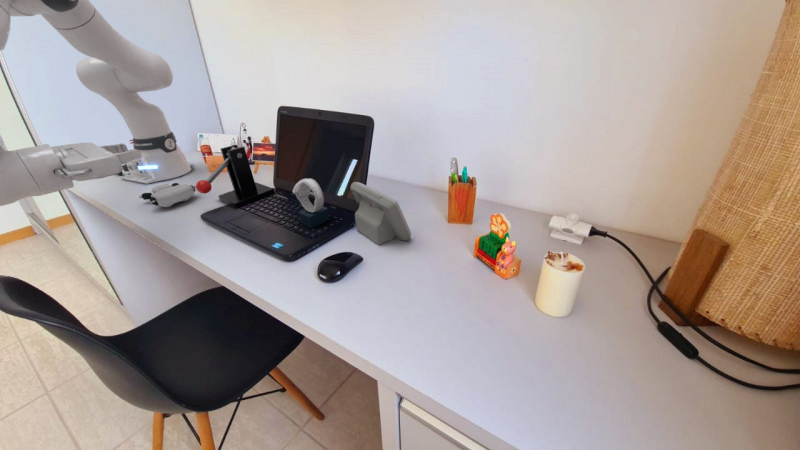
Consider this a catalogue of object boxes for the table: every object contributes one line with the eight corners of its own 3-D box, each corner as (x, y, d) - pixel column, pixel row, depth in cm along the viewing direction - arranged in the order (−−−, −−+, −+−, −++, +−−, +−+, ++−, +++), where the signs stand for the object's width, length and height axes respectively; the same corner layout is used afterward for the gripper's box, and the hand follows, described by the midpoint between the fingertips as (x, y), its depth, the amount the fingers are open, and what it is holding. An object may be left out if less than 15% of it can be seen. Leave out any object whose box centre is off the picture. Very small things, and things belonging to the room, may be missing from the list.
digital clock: (415, 242, 70) (413, 197, 65) (376, 254, 67) (371, 208, 62) (383, 213, 83) (379, 173, 78) (349, 222, 80) (343, 181, 74)
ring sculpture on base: (314, 212, 85) (306, 173, 80) (334, 221, 80) (327, 179, 75) (296, 221, 82) (286, 180, 76) (316, 230, 77) (306, 187, 71)
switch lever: (207, 197, 86) (196, 189, 84) (201, 194, 89) (190, 186, 86) (245, 156, 91) (236, 146, 89) (239, 154, 93) (229, 144, 91)
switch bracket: (236, 208, 90) (219, 156, 83) (219, 200, 96) (201, 151, 89) (274, 193, 98) (261, 144, 91) (257, 186, 104) (243, 140, 97)
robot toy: (140, 206, 97) (160, 214, 89) (132, 192, 95) (152, 199, 87) (182, 191, 106) (204, 197, 98) (176, 178, 104) (198, 183, 95)
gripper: (50, 161, 56) (142, 141, 66) (32, 145, 68) (112, 130, 77) (70, 194, 59) (155, 171, 69) (50, 174, 71) (125, 156, 80)
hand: (132, 149), depth 73 cm, fingers open, 8 cm apart
